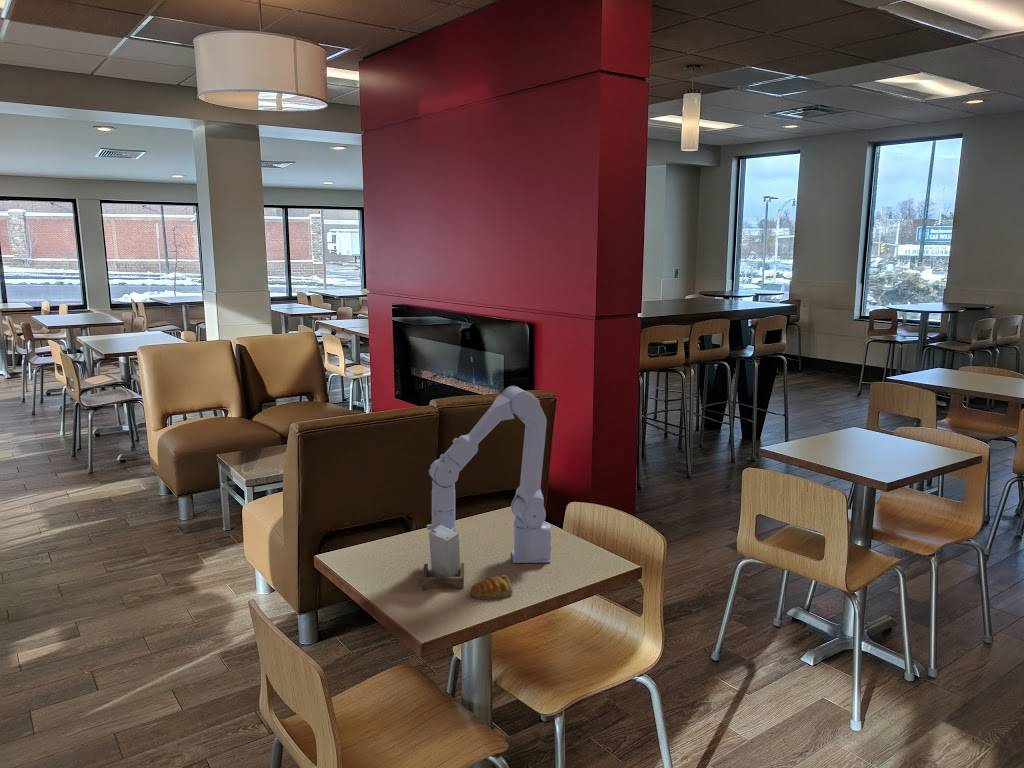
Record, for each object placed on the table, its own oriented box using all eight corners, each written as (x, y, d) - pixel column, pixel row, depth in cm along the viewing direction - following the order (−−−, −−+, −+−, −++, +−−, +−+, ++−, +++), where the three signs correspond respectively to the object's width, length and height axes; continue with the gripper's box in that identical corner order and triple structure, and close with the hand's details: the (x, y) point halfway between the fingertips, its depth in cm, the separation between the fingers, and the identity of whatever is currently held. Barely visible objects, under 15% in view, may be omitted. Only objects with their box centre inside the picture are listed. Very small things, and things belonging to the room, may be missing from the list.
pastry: (477, 604, 165) (477, 588, 164) (465, 592, 171) (465, 576, 170) (515, 596, 169) (515, 580, 168) (502, 585, 175) (502, 569, 174)
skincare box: (461, 574, 178) (460, 532, 173) (449, 584, 175) (448, 541, 170) (442, 564, 181) (441, 522, 176) (429, 573, 178) (428, 531, 173)
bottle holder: (464, 572, 181) (464, 563, 180) (463, 588, 172) (463, 578, 172) (424, 573, 180) (424, 563, 180) (422, 589, 172) (421, 578, 171)
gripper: (428, 499, 188) (429, 550, 190) (424, 518, 174) (425, 573, 176) (456, 499, 188) (456, 550, 190) (455, 518, 174) (455, 573, 176)
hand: (443, 561), depth 183 cm, fingers open, 3 cm apart
